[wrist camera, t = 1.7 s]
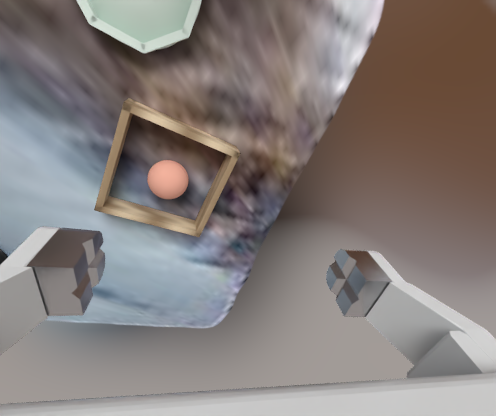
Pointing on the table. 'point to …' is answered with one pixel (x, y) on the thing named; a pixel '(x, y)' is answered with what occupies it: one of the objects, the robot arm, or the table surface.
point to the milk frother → (2, 257)
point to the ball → (167, 179)
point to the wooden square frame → (150, 214)
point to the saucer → (143, 21)
